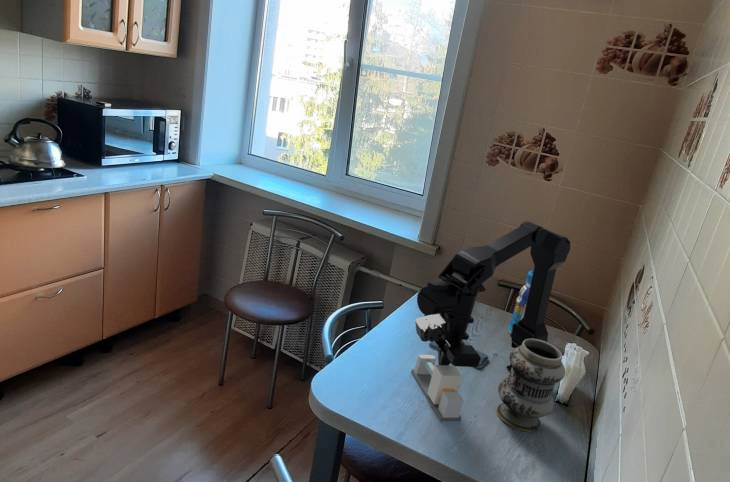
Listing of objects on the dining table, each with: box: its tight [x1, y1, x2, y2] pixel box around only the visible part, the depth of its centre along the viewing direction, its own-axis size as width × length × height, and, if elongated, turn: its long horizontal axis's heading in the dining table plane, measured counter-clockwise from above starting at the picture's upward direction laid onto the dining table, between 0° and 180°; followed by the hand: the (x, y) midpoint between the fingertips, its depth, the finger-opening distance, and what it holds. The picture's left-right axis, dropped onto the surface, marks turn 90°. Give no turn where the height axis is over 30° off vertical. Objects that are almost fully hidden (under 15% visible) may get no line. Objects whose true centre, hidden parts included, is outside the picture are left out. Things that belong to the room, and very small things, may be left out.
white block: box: [427, 364, 463, 404], centre depth 115 cm, size 5×4×7 cm
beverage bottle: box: [507, 270, 533, 334], centre depth 157 cm, size 8×8×20 cm
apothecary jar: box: [496, 339, 566, 433], centre depth 114 cm, size 12×12×18 cm
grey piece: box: [410, 354, 464, 422], centre depth 118 cm, size 5×18×5 cm, turn 15°
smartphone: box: [428, 341, 489, 369], centre depth 141 cm, size 8×2×15 cm
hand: (440, 369), depth 117 cm, fingers closed
